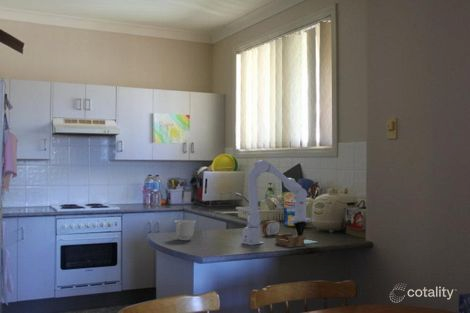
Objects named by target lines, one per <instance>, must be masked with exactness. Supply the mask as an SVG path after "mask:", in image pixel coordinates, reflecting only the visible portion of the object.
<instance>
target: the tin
mask: <svg viewBox="0 0 470 313" xmlns="http://www.w3.org/2000/svg"><path fill="white" fill-rule="evenodd" d="M261 228H262V230H261V231H262V234H263V235H264V236H268V237H270V236H275V235H278V234H279V232H280V230H281V224H280V221H278V220H275V219H274V220H266V221H265V222H264V224H262V227H261Z"/></svg>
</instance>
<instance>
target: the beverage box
mask: <svg viewBox="0 0 470 313" xmlns="http://www.w3.org/2000/svg"><path fill="white" fill-rule="evenodd" d="M295 200H296V197H295V195H294V194H293V193H291V192H290V191H284V192H283V226H288V227H289V226H291V227H293V226H294V227H295V225H294V223H293V224H292V223H289V220H290V219H295Z"/></svg>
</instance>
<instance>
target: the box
mask: <svg viewBox="0 0 470 313" xmlns="http://www.w3.org/2000/svg"><path fill="white" fill-rule="evenodd" d="M274 239H275V243H274V245H276V246H279V247H280V246H282V247H286V248H292V247H293V248H294V247H300V246H305V243H304V240H306V235H305V234H303V235H302V236H298V235H295V236H294V235H293V233H292V232H289V233H280V234H279V233H278V234H277V235H274Z"/></svg>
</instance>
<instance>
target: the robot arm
mask: <svg viewBox="0 0 470 313" xmlns="http://www.w3.org/2000/svg"><path fill="white" fill-rule="evenodd" d="M264 173H270V174H272V175H274V176H275V177H276V178H277V179H278V180H280V181H281V182H282V183H283V187H284V188H286V189H287V190H288V192H291V193H293V194H294V195H295V197H296V200H295V219H290V220H289V223H292V224H293V223H294V225H295V226H294V227H295V230H296V233H297V236H302V235H304V231H305V229H306V227H307V225H308V222H309V223H310V222H312V217H307V197H308V191H307V190H306V189H305V188H303V187H302V185H301V184H299V183H298V182H296V179H295V178H292V177H287V176H285V174H284V173H283V172H282V171H280V170H279V169H278V168H277V167H276V166H275V165H273V164H272V163H270V162H268V161H267V160H265V159H263V160H262V159H260V160H257V161H256V162H254V164H253V166H252V167H251V169H250V170H249V172H248V175H247V179H248V180H247V181H248V182H247V183H248V184H247V185H248V215H247V217H246V220H247V222H248V223H247V224H246V227H243V228H242V231H241V242H240V243H241V244H245V245H248V246H253V245H260V244H264V241H261V231H262V230H261V228H262V227H261V222H262V220H261V219H262V218H261V217H260V213H259V212H260V210H259V197H258V190H259V189H258V178H259V177H260V176H261V175H262V174H264Z"/></svg>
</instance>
